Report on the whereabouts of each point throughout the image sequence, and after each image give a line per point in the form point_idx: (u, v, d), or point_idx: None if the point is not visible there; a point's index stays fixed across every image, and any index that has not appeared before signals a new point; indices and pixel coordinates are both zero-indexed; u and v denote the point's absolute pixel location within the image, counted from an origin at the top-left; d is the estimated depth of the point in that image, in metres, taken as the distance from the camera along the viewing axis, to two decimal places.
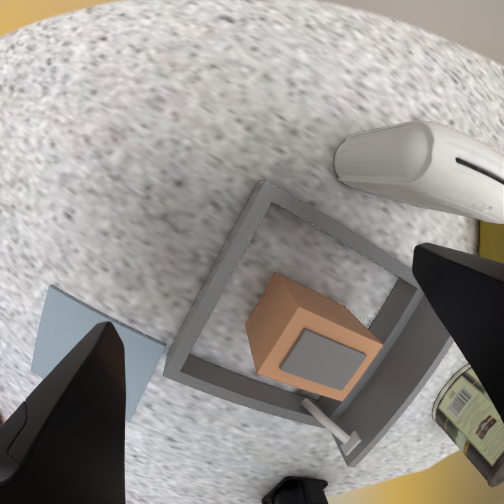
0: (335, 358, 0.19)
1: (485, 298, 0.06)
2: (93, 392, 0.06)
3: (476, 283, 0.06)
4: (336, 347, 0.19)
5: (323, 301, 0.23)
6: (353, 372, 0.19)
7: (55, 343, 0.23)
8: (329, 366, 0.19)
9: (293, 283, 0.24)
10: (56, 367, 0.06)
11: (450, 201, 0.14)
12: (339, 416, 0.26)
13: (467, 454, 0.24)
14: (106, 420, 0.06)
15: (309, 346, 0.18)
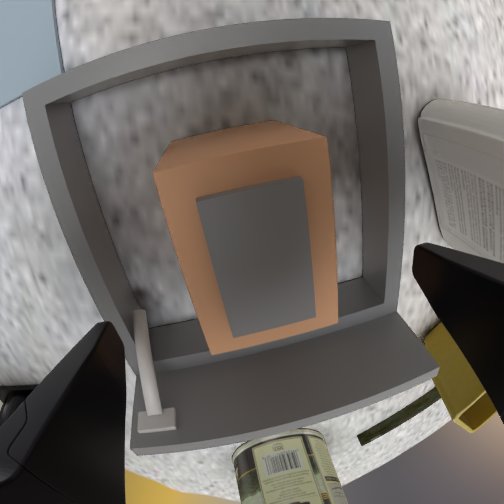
0: (283, 274, 0.10)
1: (485, 298, 0.06)
2: (93, 392, 0.06)
3: (476, 283, 0.06)
4: (304, 257, 0.10)
5: None
6: (276, 324, 0.11)
7: None
8: (263, 279, 0.10)
9: None
10: (56, 367, 0.06)
11: None
12: (161, 371, 0.17)
13: None
14: (106, 420, 0.06)
15: (277, 211, 0.09)
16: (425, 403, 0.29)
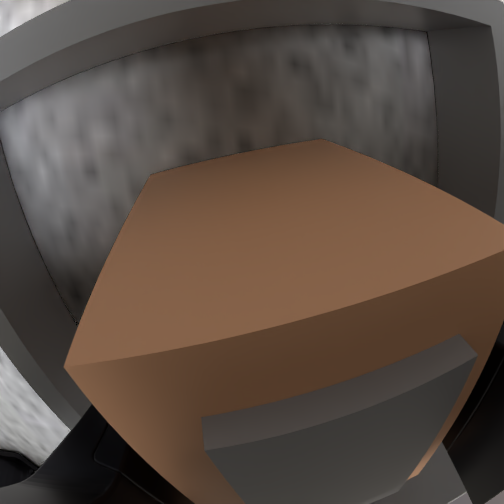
0: (373, 481, 0.04)
1: None
2: None
3: None
4: (415, 455, 0.04)
5: None
6: None
7: None
8: (337, 494, 0.04)
9: None
10: None
11: None
12: None
13: None
14: None
15: (404, 423, 0.03)
16: None
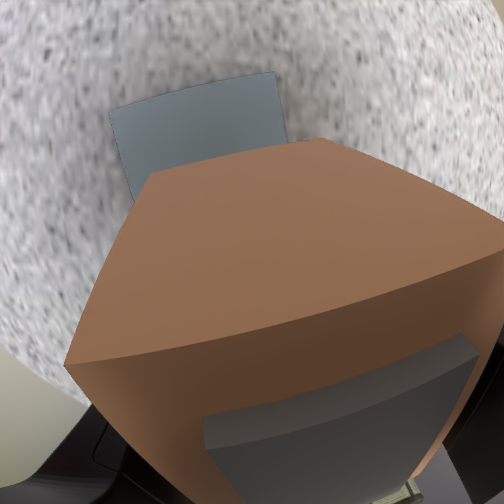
0: (374, 480, 0.04)
1: None
2: None
3: None
4: (417, 455, 0.04)
5: None
6: None
7: (196, 120, 0.17)
8: (338, 493, 0.04)
9: None
10: None
11: None
12: None
13: None
14: None
15: (406, 422, 0.03)
16: None
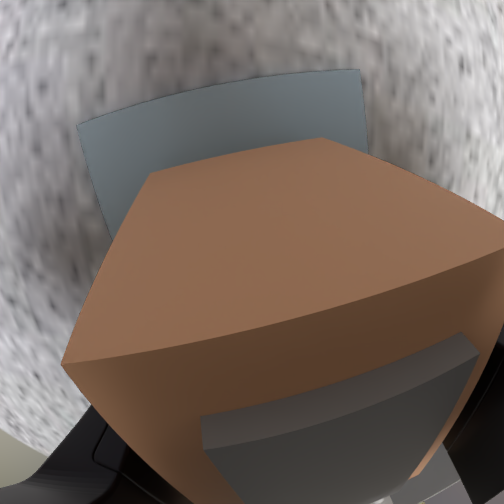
0: (373, 481, 0.04)
1: None
2: None
3: None
4: (416, 455, 0.04)
5: None
6: None
7: (230, 142, 0.10)
8: (337, 494, 0.04)
9: None
10: None
11: None
12: None
13: None
14: None
15: (405, 422, 0.03)
16: None
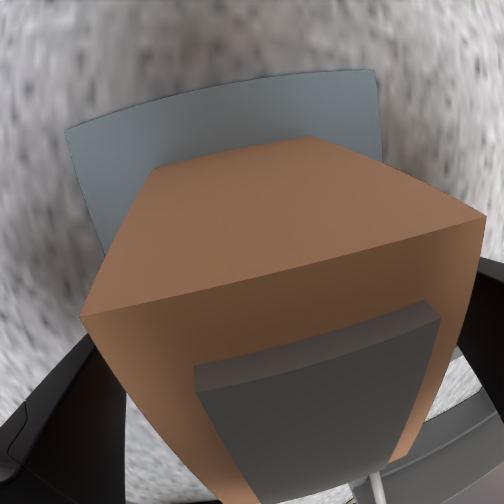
0: (356, 449, 0.05)
1: (485, 298, 0.06)
2: (93, 392, 0.06)
3: (476, 283, 0.06)
4: (396, 424, 0.04)
5: None
6: (329, 487, 0.06)
7: (233, 149, 0.09)
8: (322, 460, 0.05)
9: None
10: (55, 367, 0.06)
11: None
12: (370, 481, 0.20)
13: None
14: (106, 420, 0.06)
15: (377, 382, 0.04)
16: None
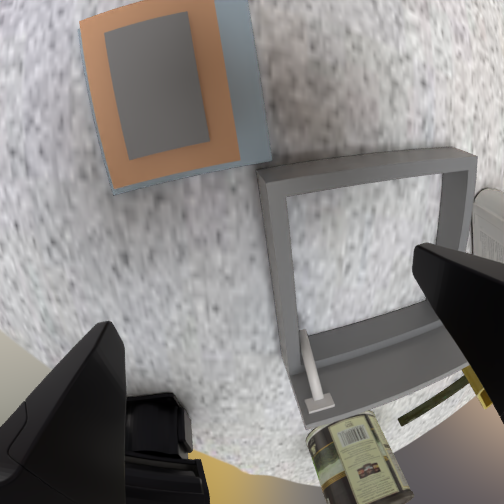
0: (172, 91, 0.10)
1: (485, 299, 0.06)
2: (93, 392, 0.06)
3: (476, 283, 0.06)
4: (190, 74, 0.10)
5: None
6: (169, 145, 0.11)
7: None
8: (154, 94, 0.10)
9: None
10: (56, 367, 0.06)
11: None
12: None
13: (332, 484, 0.28)
14: (106, 420, 0.06)
15: (166, 35, 0.09)
16: (448, 394, 0.38)
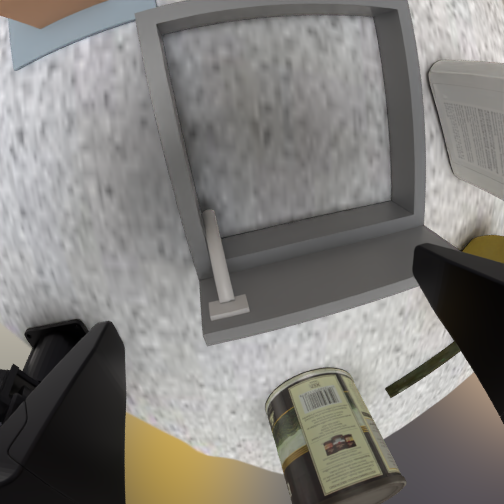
0: None
1: (485, 298, 0.06)
2: (93, 392, 0.06)
3: (476, 283, 0.06)
4: None
5: None
6: None
7: None
8: None
9: None
10: (55, 367, 0.06)
11: None
12: None
13: (292, 464, 0.23)
14: (106, 420, 0.06)
15: None
16: (446, 356, 0.33)
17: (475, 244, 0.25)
